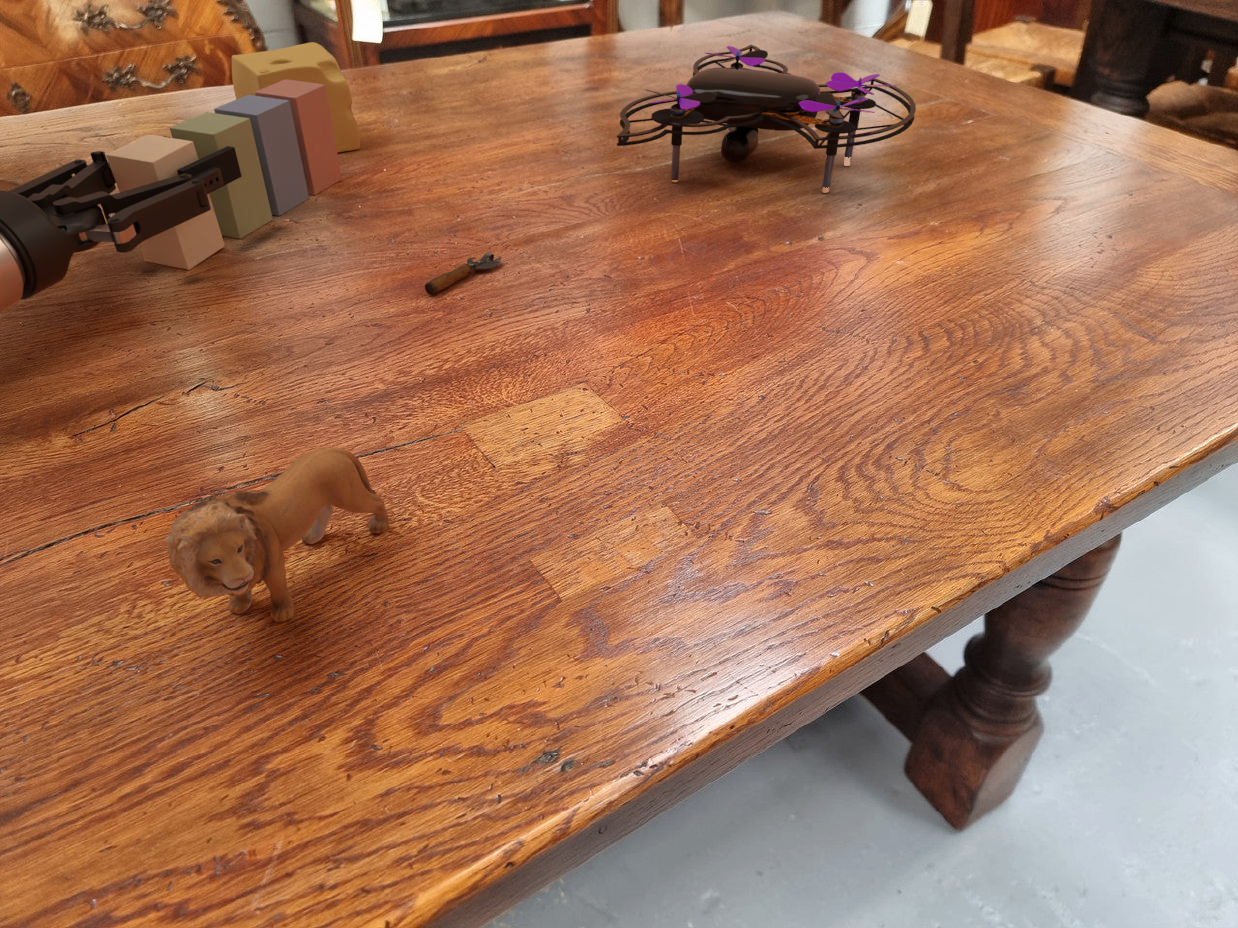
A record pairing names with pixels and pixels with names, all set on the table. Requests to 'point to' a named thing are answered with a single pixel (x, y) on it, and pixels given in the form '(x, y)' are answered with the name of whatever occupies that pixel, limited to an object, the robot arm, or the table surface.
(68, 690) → the table surface
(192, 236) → the block
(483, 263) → the can opener
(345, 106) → the cheese
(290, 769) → the table surface
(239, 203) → the block
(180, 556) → the lion figurine
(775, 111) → the drone
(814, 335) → the table surface
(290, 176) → the block
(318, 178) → the block
